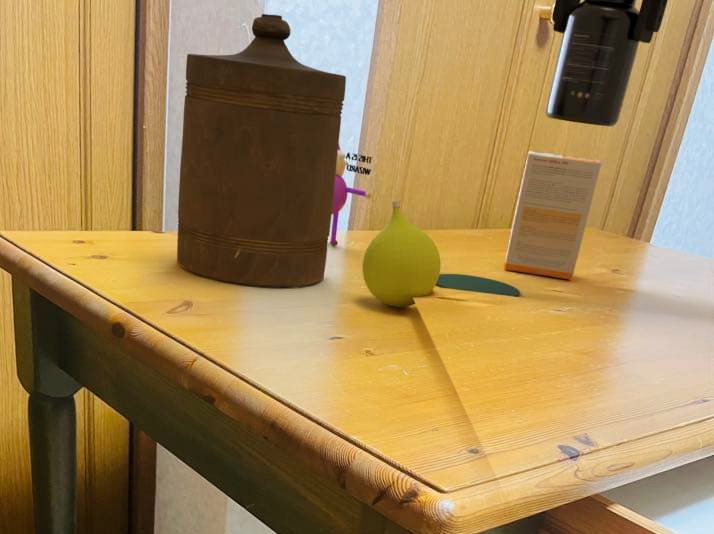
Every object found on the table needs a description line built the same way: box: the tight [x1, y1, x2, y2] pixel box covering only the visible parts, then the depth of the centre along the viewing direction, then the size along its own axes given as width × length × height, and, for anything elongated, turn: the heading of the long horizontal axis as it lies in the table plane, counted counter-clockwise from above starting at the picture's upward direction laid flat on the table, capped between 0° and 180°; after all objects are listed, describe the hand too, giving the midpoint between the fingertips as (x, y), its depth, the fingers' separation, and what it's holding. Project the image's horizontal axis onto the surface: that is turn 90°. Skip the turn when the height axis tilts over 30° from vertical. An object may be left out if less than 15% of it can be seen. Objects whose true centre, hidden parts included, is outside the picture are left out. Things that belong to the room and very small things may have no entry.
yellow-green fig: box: [362, 196, 442, 308], centre depth 76 cm, size 7×7×10 cm
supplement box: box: [504, 150, 602, 281], centre depth 100 cm, size 8×5×13 cm, turn 77°
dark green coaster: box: [435, 273, 521, 298], centre depth 91 cm, size 10×10×1 cm
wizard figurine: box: [329, 143, 373, 247], centre depth 99 cm, size 11×3×12 cm, turn 49°
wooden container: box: [176, 13, 347, 288], centre depth 80 cm, size 15×15×22 cm
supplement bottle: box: [545, 0, 640, 127], centre depth 77 cm, size 7×7×12 cm
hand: (601, 35), depth 76 cm, fingers closed on supplement bottle, 6 cm apart
